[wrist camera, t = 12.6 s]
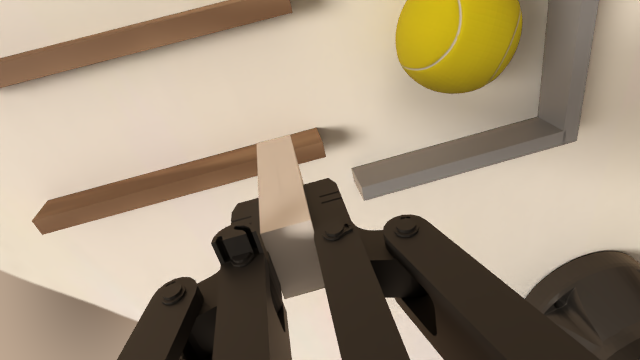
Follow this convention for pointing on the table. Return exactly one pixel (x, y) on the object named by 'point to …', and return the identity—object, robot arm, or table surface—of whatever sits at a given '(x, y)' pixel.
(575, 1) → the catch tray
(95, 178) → the table surface
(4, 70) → the chute
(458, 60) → the tennis ball
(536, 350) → the robot arm
